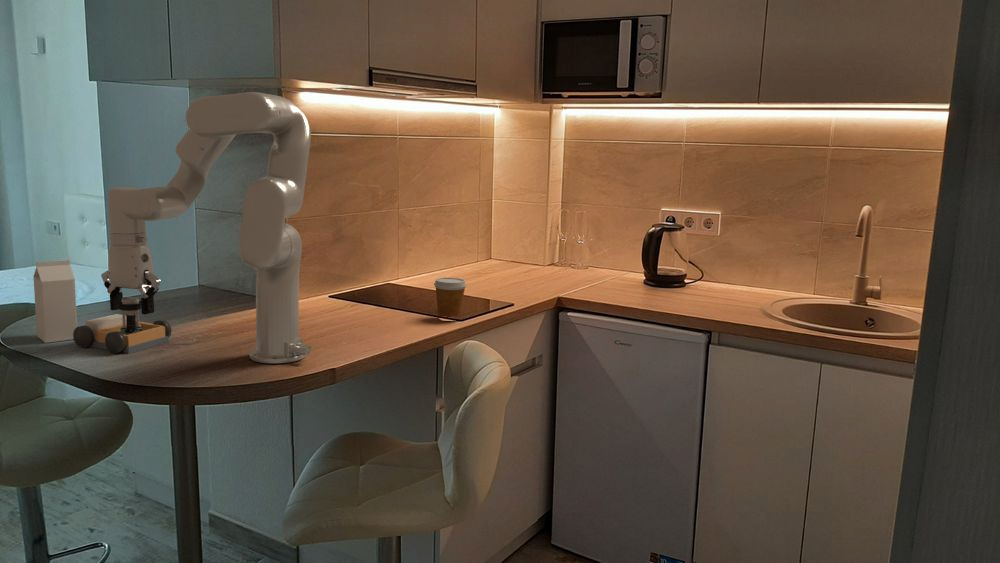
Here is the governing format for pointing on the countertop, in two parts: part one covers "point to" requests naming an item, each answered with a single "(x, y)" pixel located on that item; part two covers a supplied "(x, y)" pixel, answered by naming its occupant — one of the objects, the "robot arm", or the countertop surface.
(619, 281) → the countertop surface
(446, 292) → the disposable coffee cup
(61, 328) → the milk carton
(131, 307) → the push button
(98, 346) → the chassis
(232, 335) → the countertop surface
